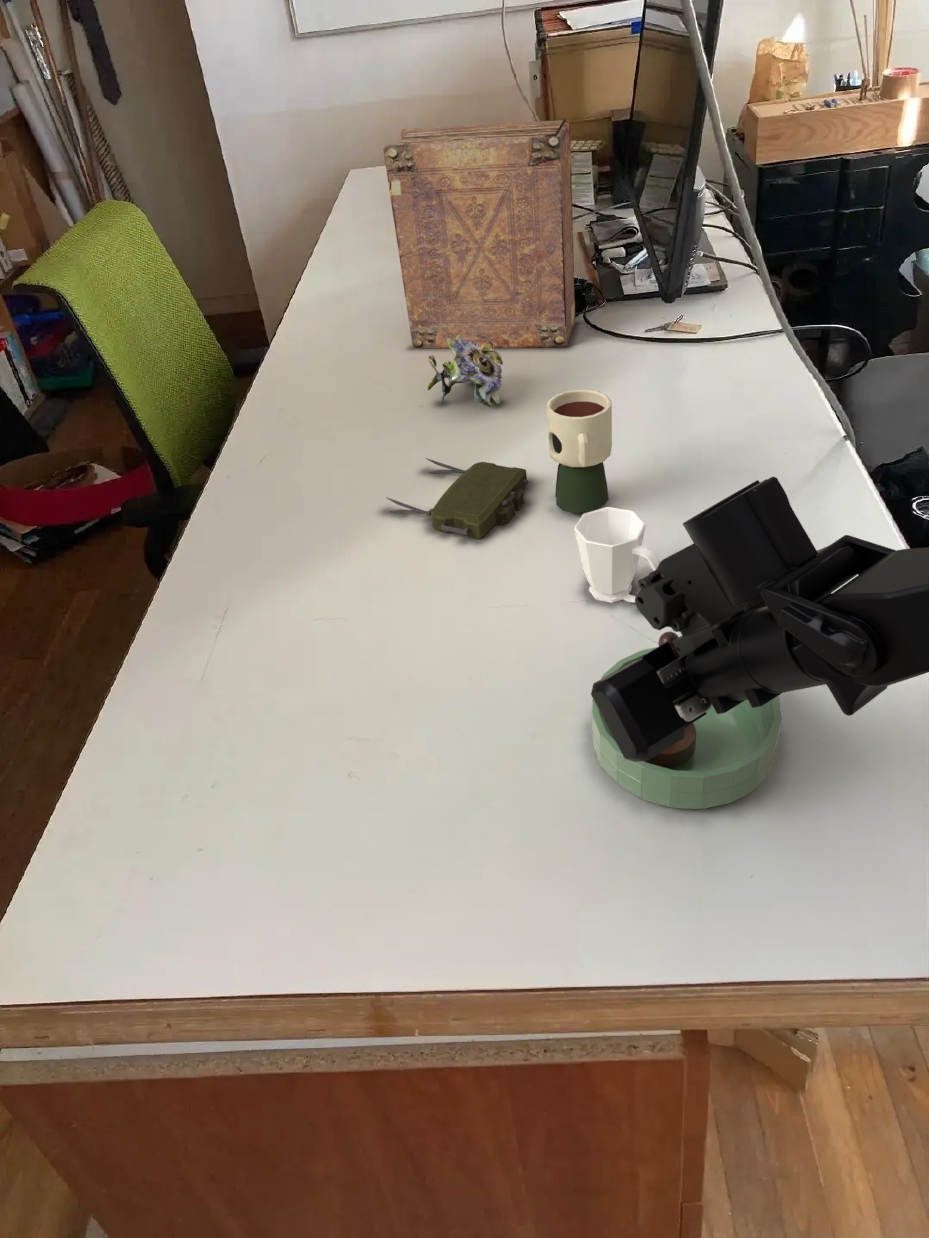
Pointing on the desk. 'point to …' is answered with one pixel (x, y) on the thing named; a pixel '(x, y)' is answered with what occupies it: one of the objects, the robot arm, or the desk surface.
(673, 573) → the robot arm
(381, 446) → the desk surface
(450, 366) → the passion flower
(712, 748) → the bowl
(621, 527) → the cup
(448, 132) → the book
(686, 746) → the knob-topped peg stand
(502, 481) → the landmine
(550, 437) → the character mug
